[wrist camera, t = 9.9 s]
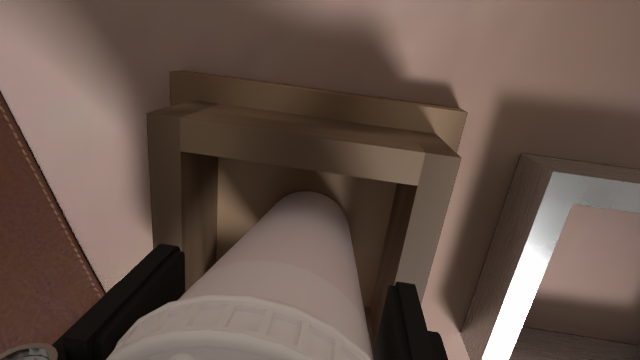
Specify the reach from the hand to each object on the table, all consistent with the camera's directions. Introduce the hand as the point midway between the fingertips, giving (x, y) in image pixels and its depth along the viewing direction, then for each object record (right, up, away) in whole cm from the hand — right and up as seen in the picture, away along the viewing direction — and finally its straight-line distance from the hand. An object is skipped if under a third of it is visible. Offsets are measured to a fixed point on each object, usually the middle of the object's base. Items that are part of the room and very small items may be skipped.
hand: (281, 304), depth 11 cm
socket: (0, +2, +6) cm, 6 cm away
